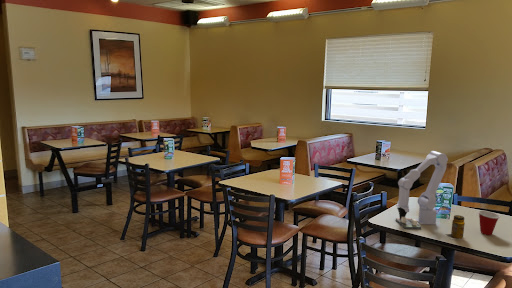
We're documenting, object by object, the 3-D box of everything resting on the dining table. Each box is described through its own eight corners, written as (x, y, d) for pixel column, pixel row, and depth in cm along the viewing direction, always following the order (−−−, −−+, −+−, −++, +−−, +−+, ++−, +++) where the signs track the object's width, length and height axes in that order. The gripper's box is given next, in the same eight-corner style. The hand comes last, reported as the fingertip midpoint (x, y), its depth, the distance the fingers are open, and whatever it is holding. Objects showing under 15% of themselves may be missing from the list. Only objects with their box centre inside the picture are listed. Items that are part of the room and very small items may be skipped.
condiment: (466, 239, 217) (468, 218, 215) (452, 239, 216) (454, 219, 214) (458, 234, 224) (460, 214, 222) (444, 234, 223) (446, 214, 221)
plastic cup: (497, 238, 218) (500, 218, 216) (475, 234, 224) (477, 214, 222) (497, 232, 228) (500, 212, 226) (476, 228, 233) (478, 209, 231)
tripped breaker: (404, 221, 237) (404, 216, 237) (406, 223, 234) (406, 218, 234) (401, 221, 237) (401, 216, 237) (402, 222, 234) (403, 218, 234)
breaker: (414, 223, 234) (415, 219, 233) (416, 225, 231) (417, 220, 230) (411, 223, 234) (411, 218, 233) (413, 225, 231) (413, 220, 230)
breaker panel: (411, 220, 244) (412, 218, 243) (421, 229, 230) (421, 226, 230) (395, 220, 244) (395, 218, 243) (403, 229, 230) (404, 226, 230)
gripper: (393, 194, 243) (391, 215, 246) (401, 201, 229) (399, 223, 231) (404, 194, 243) (402, 215, 246) (413, 201, 229) (411, 224, 231)
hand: (401, 219), depth 239 cm, fingers closed
